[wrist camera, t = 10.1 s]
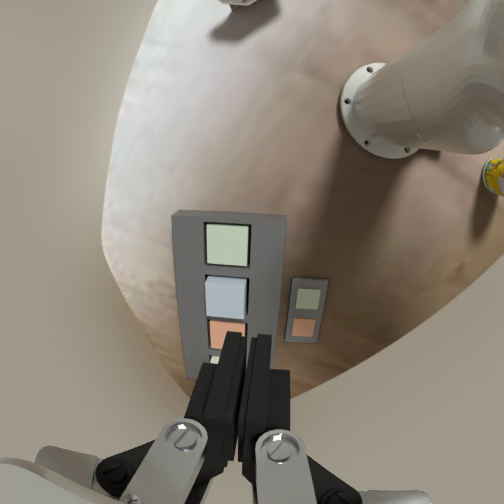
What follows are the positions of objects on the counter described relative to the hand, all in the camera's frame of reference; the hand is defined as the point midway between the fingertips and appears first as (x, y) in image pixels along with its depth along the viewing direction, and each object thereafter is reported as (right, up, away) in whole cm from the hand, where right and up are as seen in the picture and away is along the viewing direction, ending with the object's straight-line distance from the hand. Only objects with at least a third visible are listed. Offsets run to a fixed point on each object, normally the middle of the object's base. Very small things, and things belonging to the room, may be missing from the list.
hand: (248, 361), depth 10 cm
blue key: (-3, -1, +28) cm, 28 cm away
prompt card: (+8, -4, +30) cm, 32 cm away
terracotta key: (-3, -7, +32) cm, 33 cm away
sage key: (-3, +6, +27) cm, 28 cm away
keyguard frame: (-3, -4, +31) cm, 31 cm away
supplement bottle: (+37, +16, +20) cm, 45 cm away
